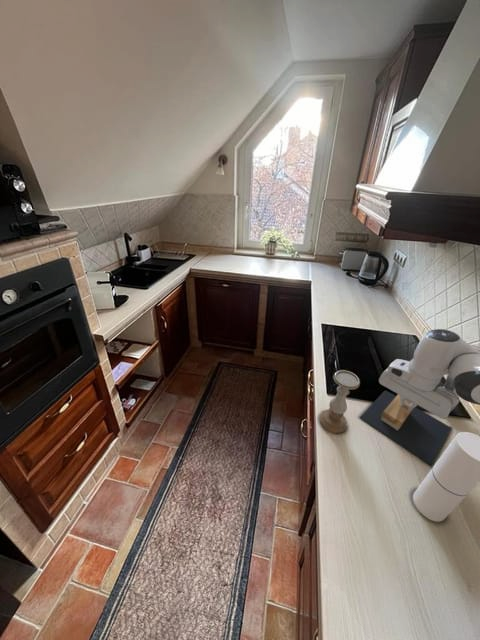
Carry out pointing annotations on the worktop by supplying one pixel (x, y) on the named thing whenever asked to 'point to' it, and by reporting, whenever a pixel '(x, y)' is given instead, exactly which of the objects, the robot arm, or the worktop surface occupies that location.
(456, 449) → the cylindrical container
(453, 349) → the robot arm
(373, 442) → the worktop surface
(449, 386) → the plastic bottle
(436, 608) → the worktop surface
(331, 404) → the candle holder
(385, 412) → the wooden block
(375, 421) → the mat
